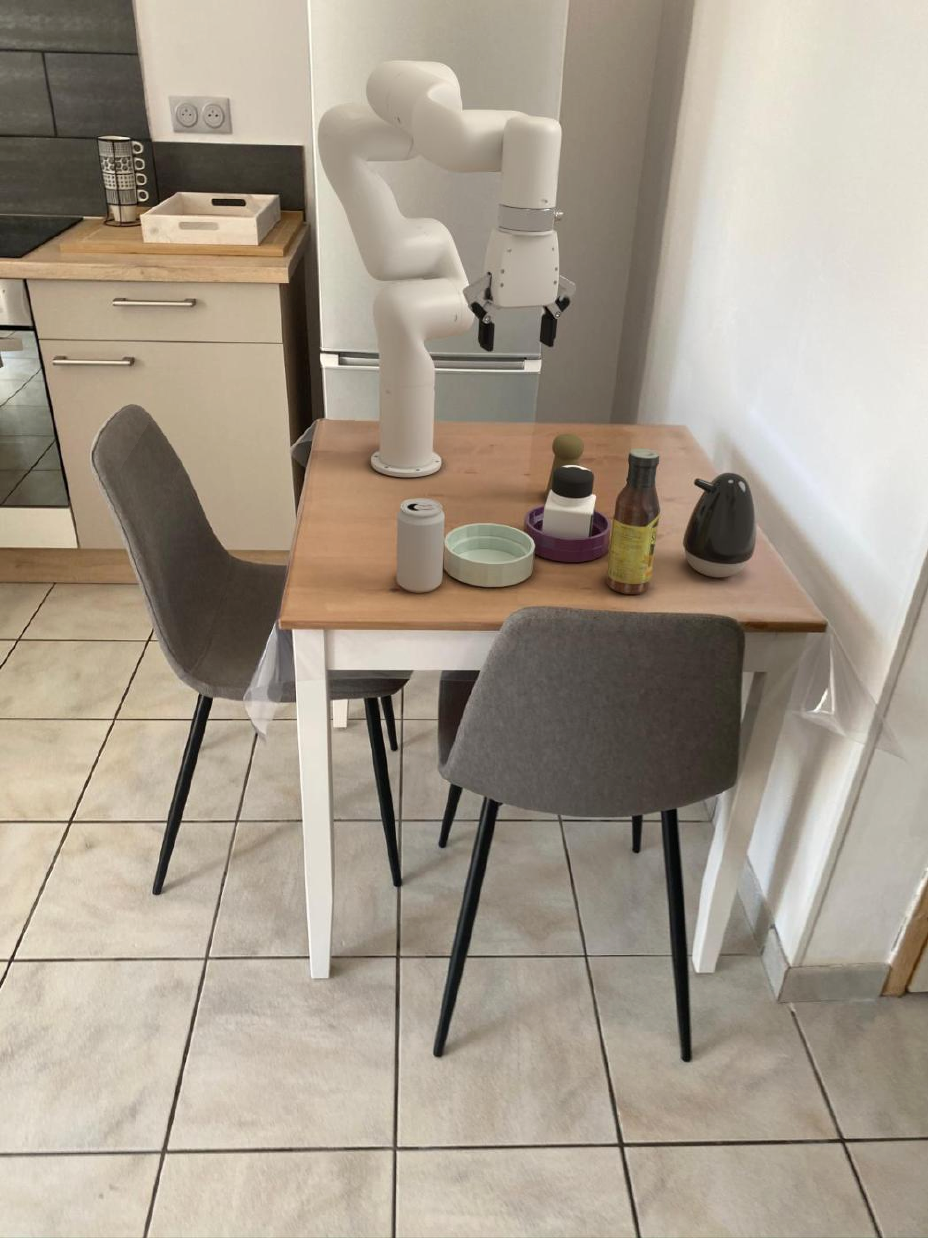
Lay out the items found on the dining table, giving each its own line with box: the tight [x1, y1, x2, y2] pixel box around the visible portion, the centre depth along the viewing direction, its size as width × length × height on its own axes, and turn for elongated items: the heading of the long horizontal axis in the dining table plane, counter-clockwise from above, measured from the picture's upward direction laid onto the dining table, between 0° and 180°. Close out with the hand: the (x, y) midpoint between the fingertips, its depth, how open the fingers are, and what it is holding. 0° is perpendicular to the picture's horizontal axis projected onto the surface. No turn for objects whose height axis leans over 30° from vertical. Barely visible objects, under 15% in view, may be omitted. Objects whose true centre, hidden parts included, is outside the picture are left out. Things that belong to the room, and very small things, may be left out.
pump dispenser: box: [682, 471, 757, 578], centre depth 138 cm, size 10×10×15 cm
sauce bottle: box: [606, 447, 661, 595], centre depth 132 cm, size 7×6×20 cm
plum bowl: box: [522, 503, 612, 563], centre depth 146 cm, size 13×13×4 cm
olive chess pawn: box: [544, 433, 585, 501], centre depth 159 cm, size 6×6×11 cm
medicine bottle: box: [542, 465, 597, 538], centre depth 144 cm, size 7×7×12 cm
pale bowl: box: [443, 522, 536, 588], centre depth 139 cm, size 13×13×4 cm
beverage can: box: [396, 497, 446, 594], centre depth 131 cm, size 6×6×12 cm
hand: (516, 346), depth 138 cm, fingers open, 9 cm apart
